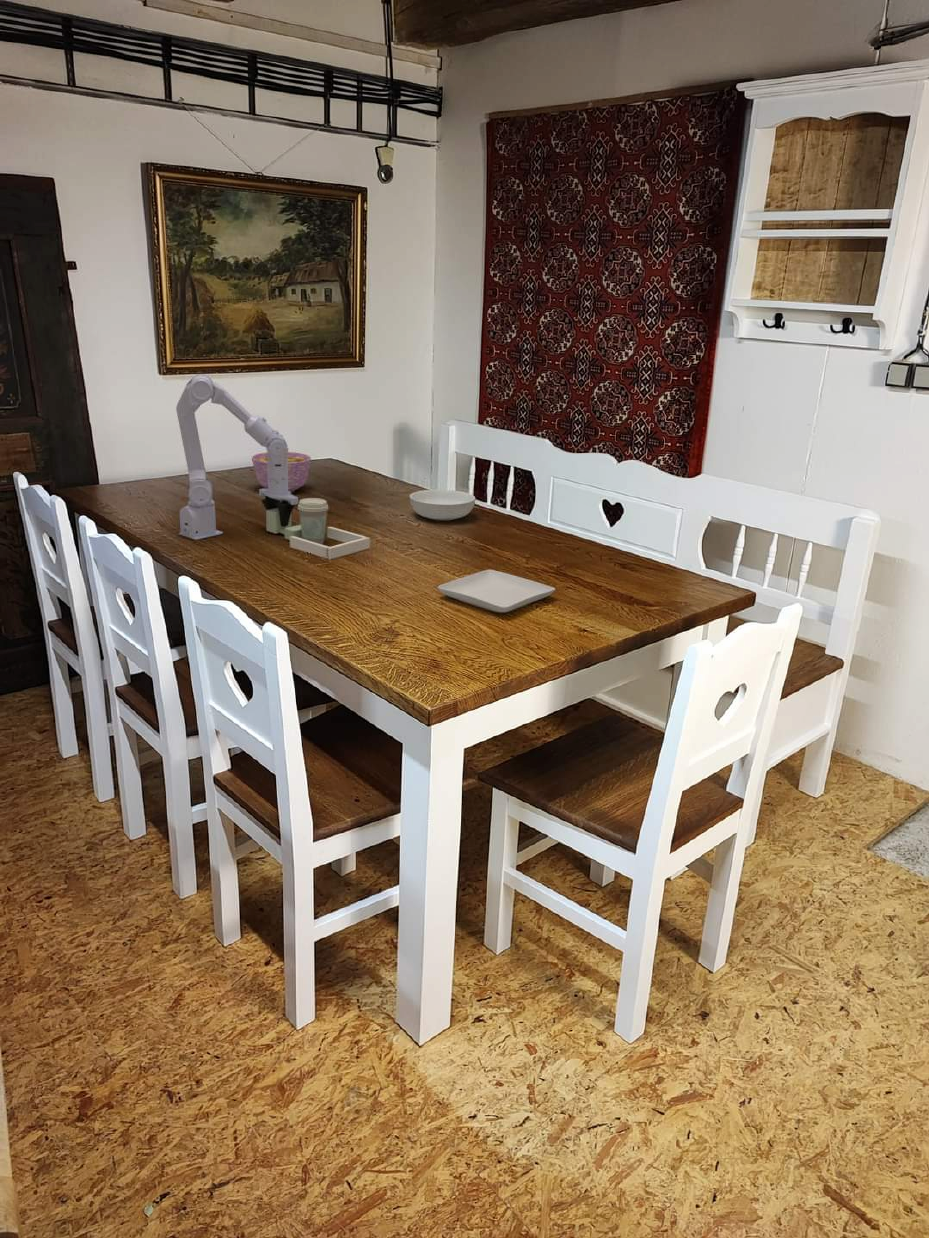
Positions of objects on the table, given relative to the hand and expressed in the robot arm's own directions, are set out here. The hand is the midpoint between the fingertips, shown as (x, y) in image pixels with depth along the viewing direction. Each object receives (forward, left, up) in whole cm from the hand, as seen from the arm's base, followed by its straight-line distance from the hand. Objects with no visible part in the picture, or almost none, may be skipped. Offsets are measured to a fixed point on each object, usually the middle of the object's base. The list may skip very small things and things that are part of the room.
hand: (279, 524), depth 264 cm
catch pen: (0, -21, -2) cm, 21 cm away
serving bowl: (+49, -21, -3) cm, 53 cm away
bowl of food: (+35, +39, -3) cm, 52 cm away
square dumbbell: (0, -4, -2) cm, 5 cm away
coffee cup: (0, -14, -3) cm, 15 cm away
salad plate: (0, -79, -3) cm, 79 cm away
